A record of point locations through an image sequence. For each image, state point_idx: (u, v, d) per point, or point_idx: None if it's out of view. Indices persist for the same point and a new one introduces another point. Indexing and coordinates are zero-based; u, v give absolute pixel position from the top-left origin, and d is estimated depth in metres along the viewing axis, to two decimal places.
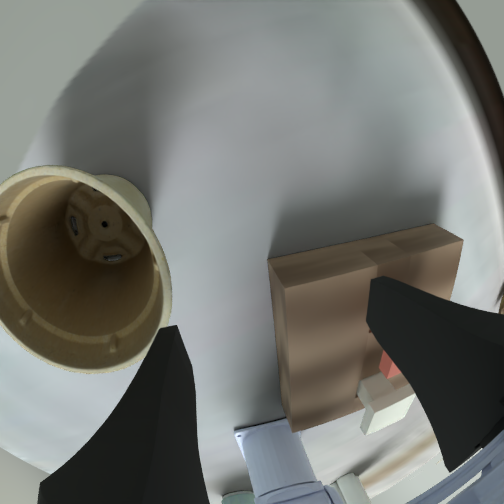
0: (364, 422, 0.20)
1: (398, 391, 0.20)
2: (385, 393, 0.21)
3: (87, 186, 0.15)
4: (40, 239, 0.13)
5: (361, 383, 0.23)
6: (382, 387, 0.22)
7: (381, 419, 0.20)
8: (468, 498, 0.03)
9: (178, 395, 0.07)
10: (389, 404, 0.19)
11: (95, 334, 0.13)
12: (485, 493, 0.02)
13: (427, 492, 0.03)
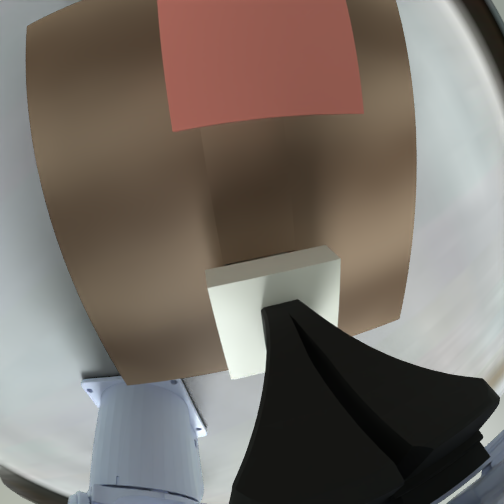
0: None
1: (290, 255, 0.10)
2: None
3: None
4: None
5: None
6: None
7: (253, 330, 0.10)
8: (468, 498, 0.03)
9: None
10: (255, 275, 0.09)
11: None
12: (485, 493, 0.02)
13: None
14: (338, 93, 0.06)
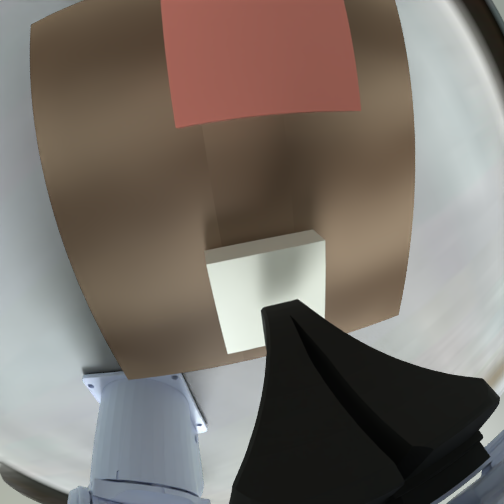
0: None
1: (280, 238, 0.11)
2: None
3: None
4: None
5: None
6: None
7: (247, 305, 0.11)
8: (468, 498, 0.03)
9: None
10: (248, 253, 0.10)
11: None
12: (485, 493, 0.02)
13: None
14: (336, 91, 0.06)
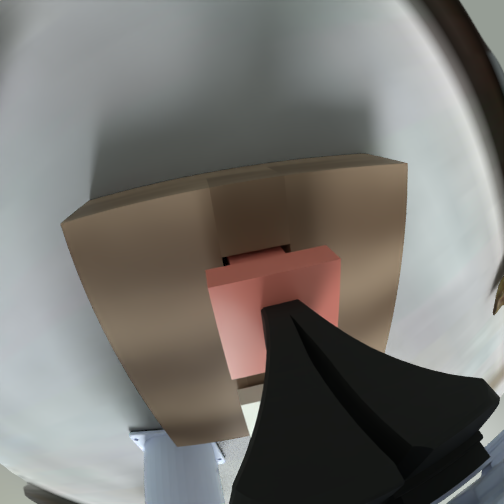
0: None
1: None
2: None
3: None
4: None
5: None
6: None
7: None
8: (468, 498, 0.03)
9: None
10: None
11: None
12: (485, 493, 0.02)
13: None
14: None
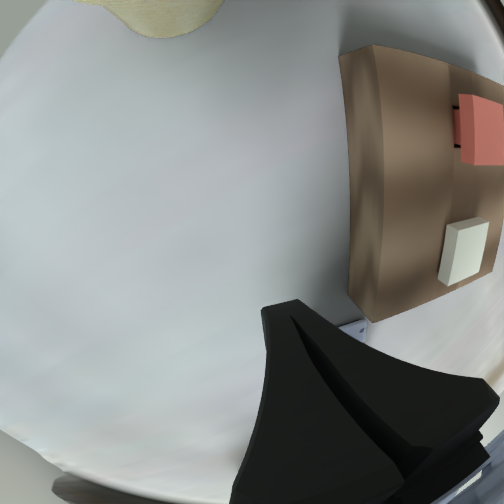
0: (444, 263, 0.17)
1: (471, 220, 0.17)
2: None
3: None
4: None
5: None
6: None
7: (462, 254, 0.16)
8: (468, 498, 0.03)
9: None
10: (468, 226, 0.16)
11: (158, 6, 0.07)
12: (485, 493, 0.02)
13: None
14: (500, 158, 0.13)
